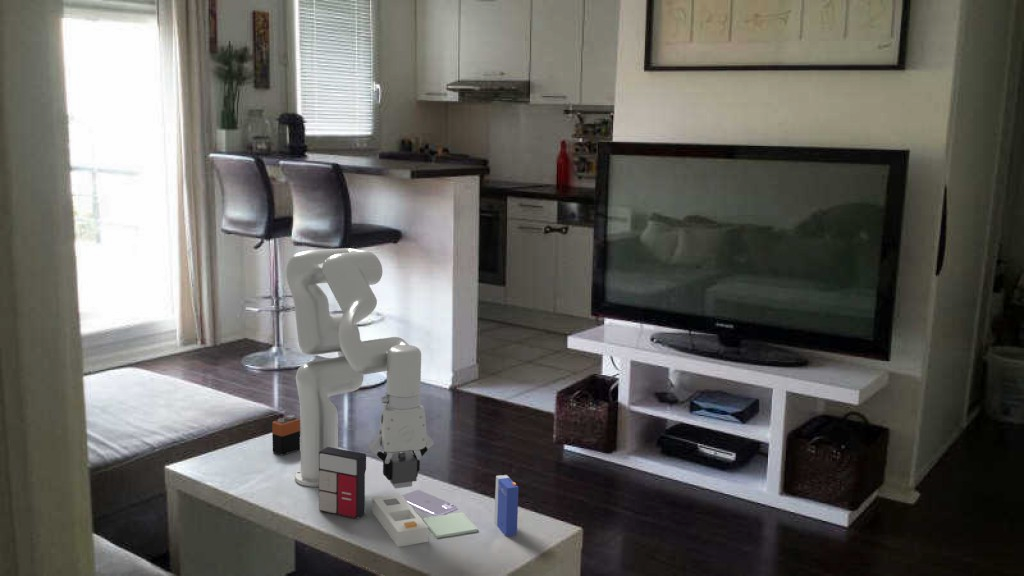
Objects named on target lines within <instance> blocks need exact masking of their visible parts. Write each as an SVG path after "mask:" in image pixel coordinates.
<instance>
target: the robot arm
mask: <svg viewBox="0 0 1024 576" xmlns="http://www.w3.org/2000/svg"><path fill="white" fill-rule="evenodd" d="M285 270H286V274H285V276H286V281H287V285H288V288H289V291H290V293H291V296H292V300H293V303H294V311H295V313H294V314H295V324H296V333H297V340H298V341H297V342H298V347H299V348H300V351H301V352H302V353H303V354H305V355H308V356H315V355H316V356H318V355H324V354H332V353H337V356H335V357H329V358H328V357H327V358H322V359H315V360H310V361H307V362H304V363H303V364H302V365H300V366H299V367H298V369H297V371H296V374H295V382H296V389H297V394H298V398H299V399H298V401H299V415H300V416H299V417H300V418H299V419H300V469H299V470H297V471H296V472H295V473H294V481H295V482H296V483H298V484H299V485H301V486H305V487H314V488H319V451H321V450H323V449H325V448H327V447H331V448H337V449H339V416H338V415H339V414H338V411H337V407H336V406H335V405H334V404H333V403H332V401H331V400H330V397H331V396H332V397H333V396H336V395H341V394H346V393H351V392H354V391H357V390H359V389H360V388H361V387H362V385H363V382H364V376H365V375H371V374H378V373H383V372H386V392H385V394H384V396H383V397H382V396H381V397H379V402H380V404H384V405H383V407H382V411H381V416H380V422H379V431H378V436H377V437H376V438H375V439H374V441H373V442H372V443H371V444H370V446H369V447H368V449H369V451H370V452H371V453H372V454H374V455H375V456H376V457H378V458H379V459H380V460H381V461H382V474H383V476H384V477H386V479H387V480H388V481H390V480H391V479H392V464H391V462H390V461H391V457H392V454H393V453H399V452H410V451H411V452H412V455H413V456H414V457H415V458H416V459H417V477H418V475H419V473H418V472H420V469H421V468H420V467H421V465H420V464H421V460H422V459H423V456H424V455H425V454H426V453H427V452H428V450H429V449H430V448H432V446H434V444H435V442H434V440H433V439H432V438H431V437H430V435H428V434H427V423H426V422H427V421H426V413H425V407H424V405H423V404H421V382H422V381H421V380H422V379H421V377H422V375H421V373H422V352H421V350H420V348H419V347H417V346H415V345H412V344H411V345H410V344H409V343H408V342H407V341H406V340H404V339H403V338H401V337H399V336H391V337H384V338H375V339H369V340H363V341H362V339H361V333H360V329H359V327H358V326H359V325H358V323H359V322H362V320H364V319H365V318H368V317H369V316H370V315H371V314H372V313H373V312H374V311H375V310H376V308H377V304H378V299H377V297H376V295H375V293H374V291H373V289H372V288H371V286H372V285H376V284H378V283H380V281H381V279H382V277H383V265H382V263H381V261H380V259H379V258H378V256H377V255H376V254H375V253H374V252H372V251H370V250H364V249H363V250H361V249H357V248H349V247H348V248H347V247H345V248H344V247H343V248H330V249H310V250H304V251H299V252H297V253H295V254H293V255H292V256H291V257H290V258H289V260H288V262H287V265H286V269H285ZM318 284H327V285H328V286H329V288H330V291H331V292H332V294H333V297H334V298H335V300H336V302H337V304H338V305H339V308H340V310H341V311H342V314H337V315H335V314H334V315H331V312H330V304H329V299H328V297H327V295H326V293H325V292H324V291H323V290H322V288H321V287H320V286H319V285H318ZM379 447H382V450H383V451H381V450H380V449H379Z"/></svg>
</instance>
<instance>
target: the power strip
mask: <svg viewBox="0 0 1024 576" xmlns="http://www.w3.org/2000/svg"><path fill="white" fill-rule="evenodd" d="M402 495H403V494H401V493H397V494H390V495H389V494H388V495H384V496H383V495H382V496H377V497H372V501H371V502H372V505H371V506H372V508H371V509H372V511H371V513H373V515H374V516H375V517H376V519H377V520H378V521H379V523H380V524H381V525H382V527H383V528H384V530H385V532H386V533H387V534H388V535H389V537H390V538H391V539H392V541H393V542H394V543H395V545H396V546H397V547H398V548H400V547H405V546H411V545H418V544H423V543H428V542H429V528H428V526H427V525H426V524H425V523H424V521H423V520H422V518H421V516H420V515H419V514H418V512H416V511H415V509H414V507H413V506H411V505H409V503H408V502H407V501H406V500H405V499H404V497H403V496H402Z"/></svg>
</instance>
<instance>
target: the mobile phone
mask: <svg viewBox="0 0 1024 576" xmlns="http://www.w3.org/2000/svg"><path fill="white" fill-rule="evenodd" d="M401 495H402V496H403V497H404V499H405V500H406V501H407V502H408V503H409V505H410V506H411V507H412V508H416V509H418V510H420V511H422V512H424V513H426V514H429V515H430V516H433V515H434V516H440V515H446V514H450V513H451V512H453V511H456V510H458V509H459V508H458V506H457V505H456V504H453V503H451V502H449V501H446V500H443V499H442V498H439V497H436V496H434V495H432V494H430V493H427V492H425V491H423V490H420V489H416V490H413V491H410V492H407V493H405V494H401Z"/></svg>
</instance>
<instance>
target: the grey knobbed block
mask: <svg viewBox="0 0 1024 576" xmlns="http://www.w3.org/2000/svg"><path fill="white" fill-rule="evenodd" d="M390 462H391V464H392V479H391V480H389V482H390V484H391V485H392V486H393V488H394V489H402V488H410V487H413V482H417V478H418V476H417V459H416V458H415V457H414V456H413V453H411V452H410V451H405V452H397V453H393V454H392V457H391V461H390Z"/></svg>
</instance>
